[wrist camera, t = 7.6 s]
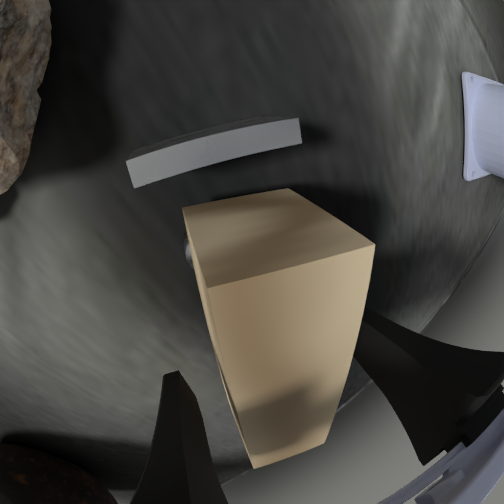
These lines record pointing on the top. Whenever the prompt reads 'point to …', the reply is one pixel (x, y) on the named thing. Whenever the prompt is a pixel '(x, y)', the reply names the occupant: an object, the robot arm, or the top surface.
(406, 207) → the top surface
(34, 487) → the glass bottle
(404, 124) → the top surface
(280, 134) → the grey blocks and balls
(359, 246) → the oak block
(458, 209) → the top surface
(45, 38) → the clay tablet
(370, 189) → the top surface
